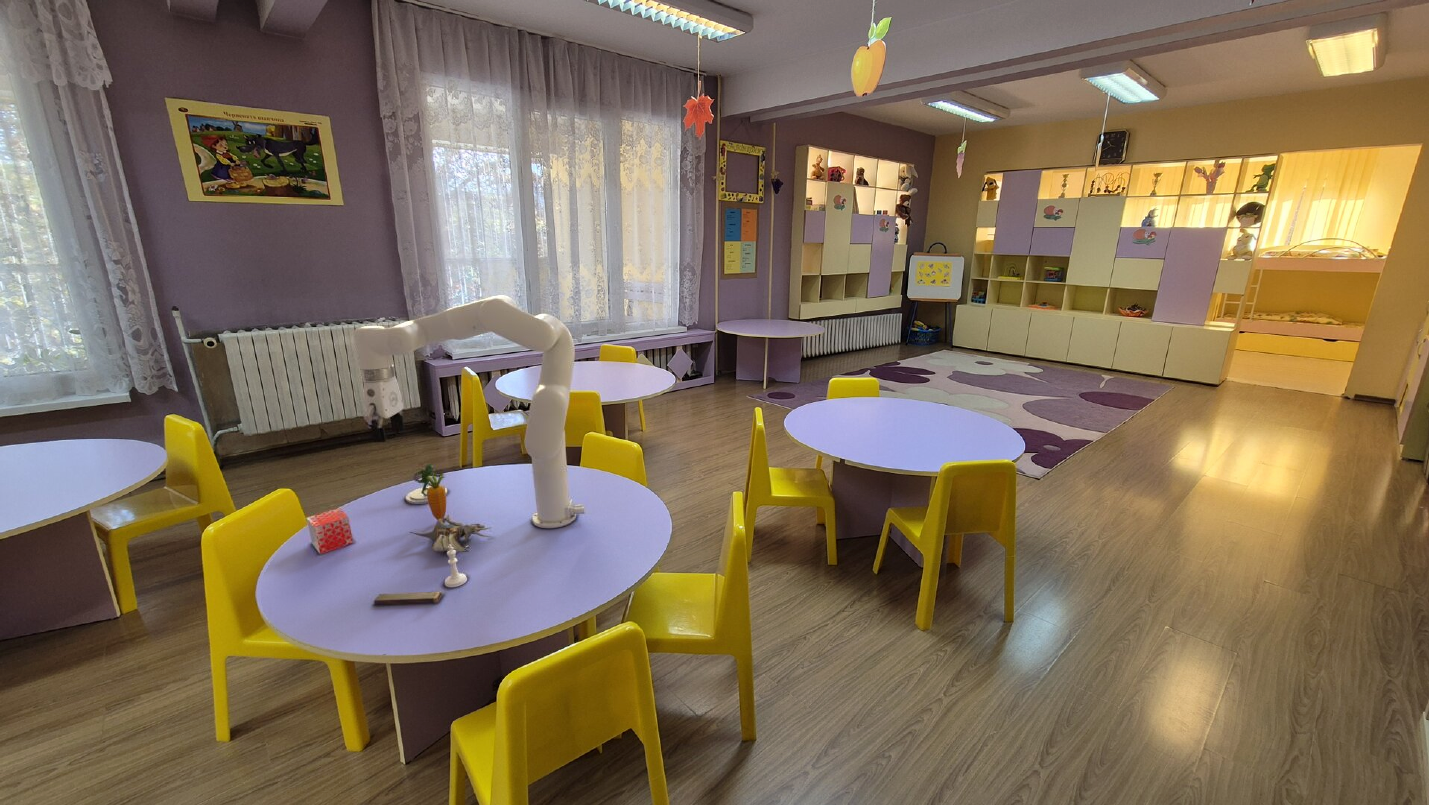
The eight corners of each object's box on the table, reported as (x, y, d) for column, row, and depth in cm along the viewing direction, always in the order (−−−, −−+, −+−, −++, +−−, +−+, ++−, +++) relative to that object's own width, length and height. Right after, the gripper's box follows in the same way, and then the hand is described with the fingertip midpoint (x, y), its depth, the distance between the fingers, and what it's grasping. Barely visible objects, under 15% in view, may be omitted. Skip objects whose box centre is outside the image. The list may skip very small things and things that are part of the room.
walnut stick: (442, 595, 132) (441, 591, 132) (437, 602, 130) (436, 597, 129) (380, 598, 131) (379, 593, 131) (374, 605, 129) (373, 600, 129)
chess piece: (453, 589, 134) (447, 552, 132) (440, 583, 137) (434, 546, 134) (471, 579, 138) (465, 542, 136) (458, 573, 141) (453, 537, 138)
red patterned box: (353, 542, 156) (348, 516, 154) (320, 554, 150) (314, 527, 148) (344, 533, 161) (339, 507, 159) (312, 543, 156) (306, 517, 154)
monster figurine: (455, 489, 189) (451, 460, 186) (430, 505, 177) (425, 475, 174) (424, 486, 191) (419, 458, 188) (397, 502, 180) (392, 472, 177)
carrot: (453, 518, 169) (446, 472, 165) (444, 527, 164) (436, 479, 160) (437, 518, 169) (430, 471, 165) (428, 526, 164) (420, 478, 160)
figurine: (487, 507, 164) (495, 534, 149) (488, 526, 165) (496, 554, 151) (408, 519, 155) (409, 548, 140) (410, 539, 156) (411, 570, 142)
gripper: (374, 381, 140) (386, 446, 145) (408, 366, 157) (418, 425, 162) (343, 382, 140) (356, 447, 145) (381, 367, 157) (391, 425, 162)
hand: (389, 435), depth 153 cm, fingers open, 9 cm apart
